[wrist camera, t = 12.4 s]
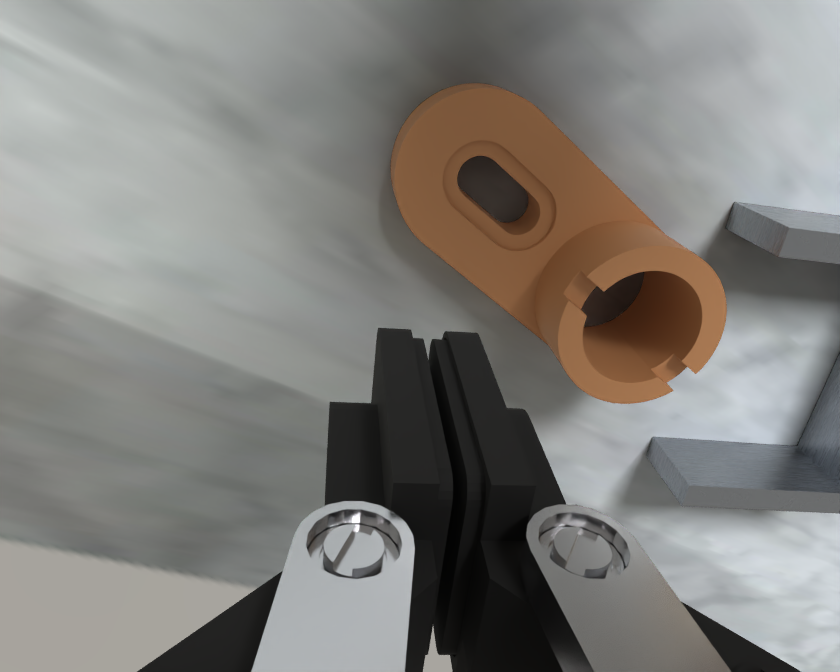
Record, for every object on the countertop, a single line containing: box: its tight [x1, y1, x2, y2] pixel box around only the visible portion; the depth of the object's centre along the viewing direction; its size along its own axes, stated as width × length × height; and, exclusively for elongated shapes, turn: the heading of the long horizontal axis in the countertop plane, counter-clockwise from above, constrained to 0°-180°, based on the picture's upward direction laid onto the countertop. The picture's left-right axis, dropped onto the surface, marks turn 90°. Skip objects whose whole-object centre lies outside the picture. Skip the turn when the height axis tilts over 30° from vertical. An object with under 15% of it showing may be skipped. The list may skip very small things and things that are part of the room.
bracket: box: [391, 83, 727, 404], centre depth 33 cm, size 18×8×7 cm, turn 49°
